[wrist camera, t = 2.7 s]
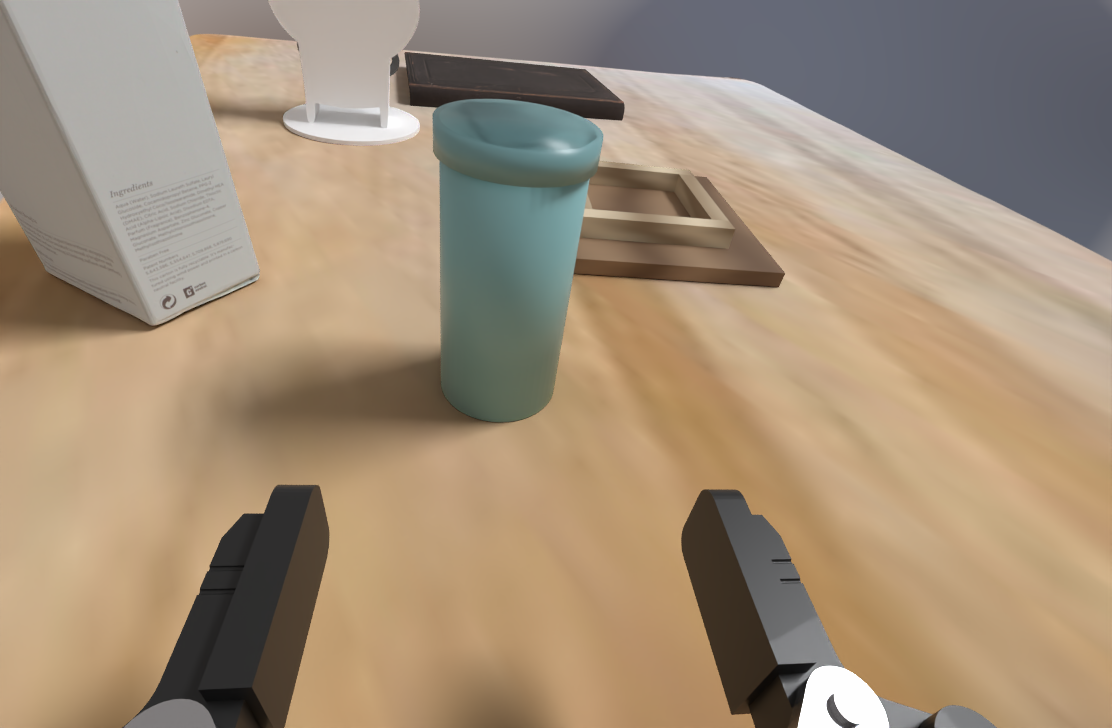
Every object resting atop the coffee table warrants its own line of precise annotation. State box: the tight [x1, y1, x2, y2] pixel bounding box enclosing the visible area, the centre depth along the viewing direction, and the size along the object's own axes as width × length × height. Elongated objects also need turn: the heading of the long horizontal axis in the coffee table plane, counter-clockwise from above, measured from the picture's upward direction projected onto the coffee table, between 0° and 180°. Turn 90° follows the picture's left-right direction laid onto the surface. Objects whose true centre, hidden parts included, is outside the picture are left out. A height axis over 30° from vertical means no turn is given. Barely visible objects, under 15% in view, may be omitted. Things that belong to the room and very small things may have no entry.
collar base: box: [574, 161, 785, 287], centre depth 39 cm, size 16×16×2 cm
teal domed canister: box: [433, 99, 603, 422], centre depth 21 cm, size 5×5×11 cm
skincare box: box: [0, 0, 260, 326], centre depth 22 cm, size 8×6×15 cm
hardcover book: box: [405, 52, 624, 120], centre depth 63 cm, size 16×23×2 cm
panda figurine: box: [268, 0, 420, 146], centre depth 43 cm, size 12×11×15 cm
